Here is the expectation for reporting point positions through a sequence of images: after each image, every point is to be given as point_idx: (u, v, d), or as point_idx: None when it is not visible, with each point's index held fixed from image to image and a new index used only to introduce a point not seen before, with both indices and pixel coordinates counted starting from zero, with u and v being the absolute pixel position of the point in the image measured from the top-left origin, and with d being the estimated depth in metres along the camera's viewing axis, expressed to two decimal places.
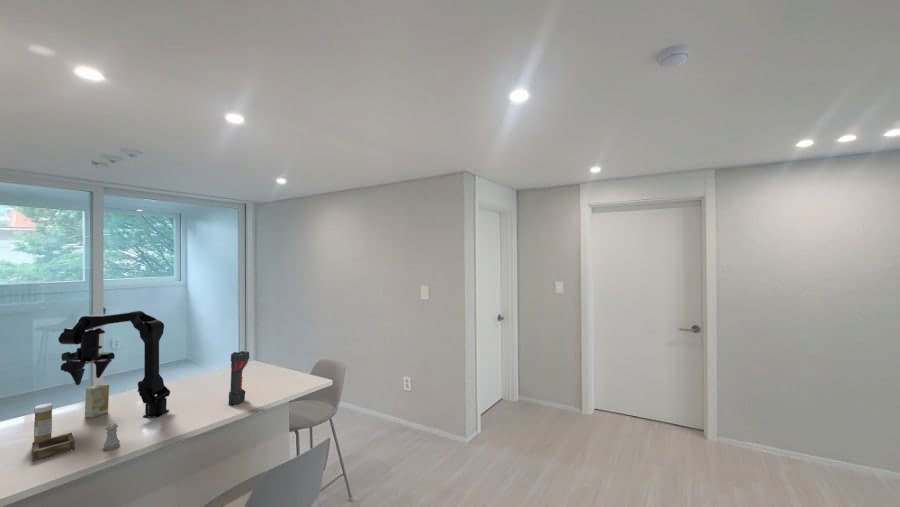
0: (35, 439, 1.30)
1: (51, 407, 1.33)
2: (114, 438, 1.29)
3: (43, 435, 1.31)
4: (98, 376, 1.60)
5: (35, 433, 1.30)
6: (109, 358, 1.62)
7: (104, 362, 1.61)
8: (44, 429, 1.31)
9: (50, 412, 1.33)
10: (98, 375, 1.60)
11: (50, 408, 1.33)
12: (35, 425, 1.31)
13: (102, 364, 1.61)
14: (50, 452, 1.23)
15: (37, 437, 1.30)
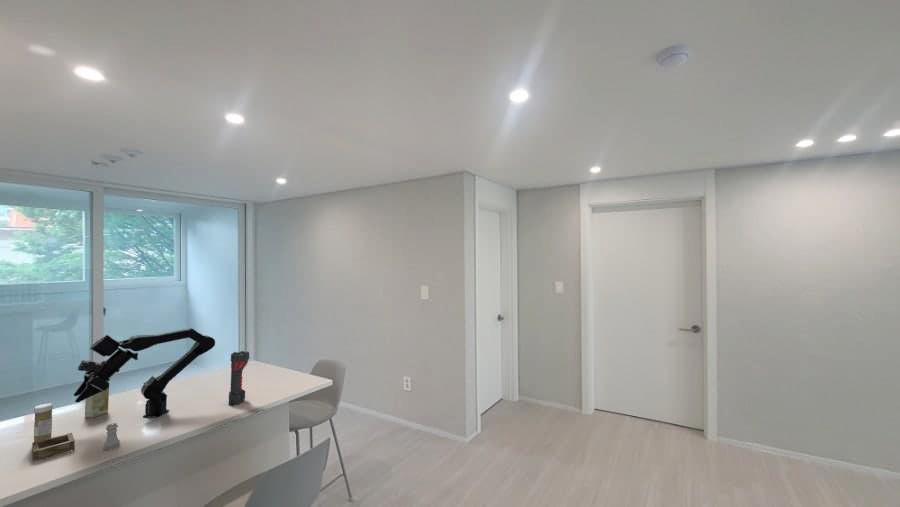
0: (35, 439, 1.30)
1: (51, 407, 1.33)
2: (114, 438, 1.29)
3: (43, 435, 1.31)
4: (76, 394, 1.42)
5: (35, 433, 1.30)
6: None
7: None
8: (44, 429, 1.31)
9: (50, 412, 1.33)
10: (78, 393, 1.42)
11: (50, 408, 1.33)
12: (35, 425, 1.31)
13: None
14: (50, 452, 1.23)
15: (37, 437, 1.30)
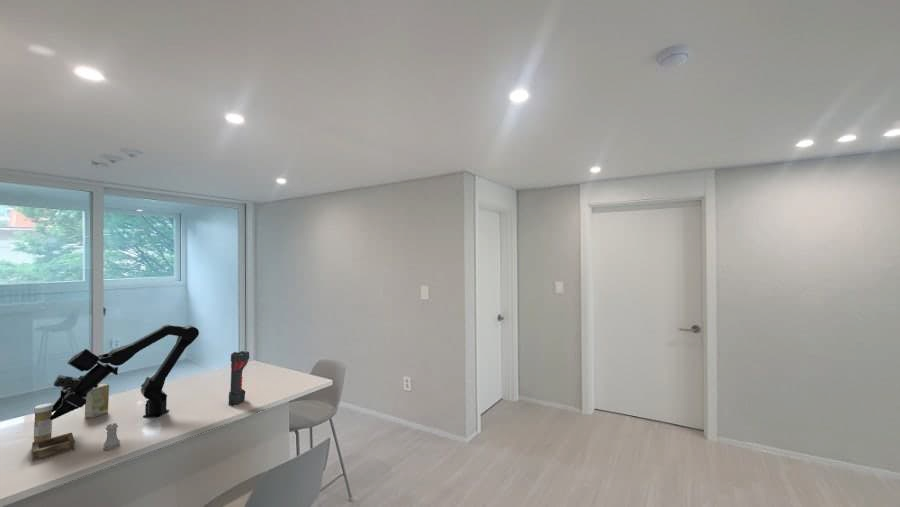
0: (35, 439, 1.30)
1: (51, 407, 1.33)
2: (114, 438, 1.29)
3: (43, 435, 1.31)
4: (52, 411, 1.37)
5: (35, 433, 1.30)
6: None
7: None
8: (44, 429, 1.31)
9: (50, 412, 1.33)
10: (53, 410, 1.37)
11: (50, 408, 1.33)
12: (35, 425, 1.31)
13: None
14: (50, 452, 1.23)
15: (37, 437, 1.30)
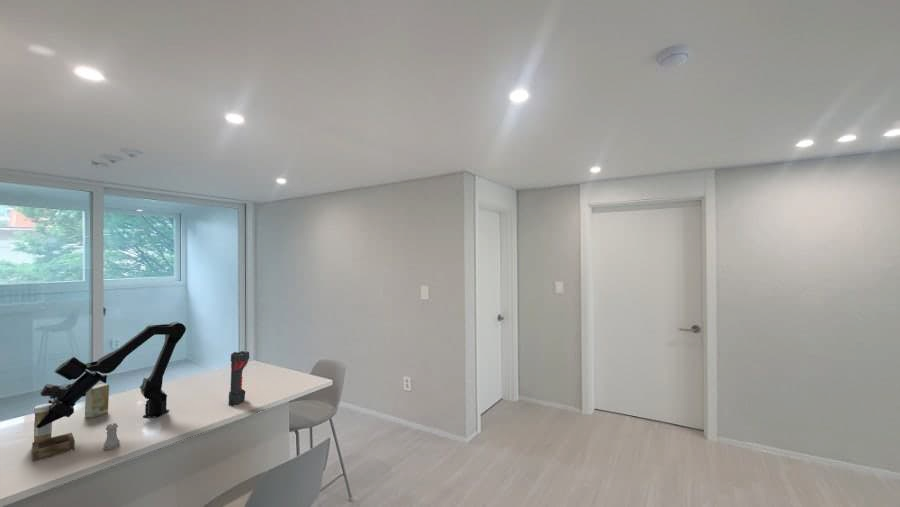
0: (35, 439, 1.30)
1: None
2: (114, 438, 1.29)
3: (43, 435, 1.31)
4: None
5: (35, 433, 1.30)
6: None
7: None
8: (44, 429, 1.31)
9: None
10: None
11: None
12: (35, 425, 1.30)
13: None
14: (50, 452, 1.23)
15: (37, 437, 1.30)
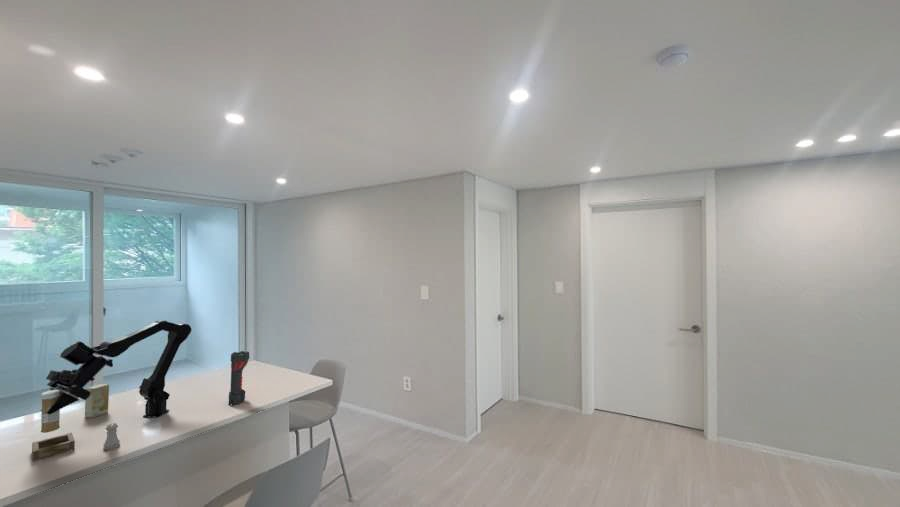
0: (44, 426, 1.26)
1: (59, 393, 1.29)
2: (114, 438, 1.29)
3: (53, 422, 1.27)
4: None
5: (44, 420, 1.26)
6: None
7: None
8: (54, 415, 1.27)
9: None
10: None
11: (59, 394, 1.29)
12: (44, 412, 1.26)
13: None
14: (50, 452, 1.23)
15: (47, 424, 1.26)
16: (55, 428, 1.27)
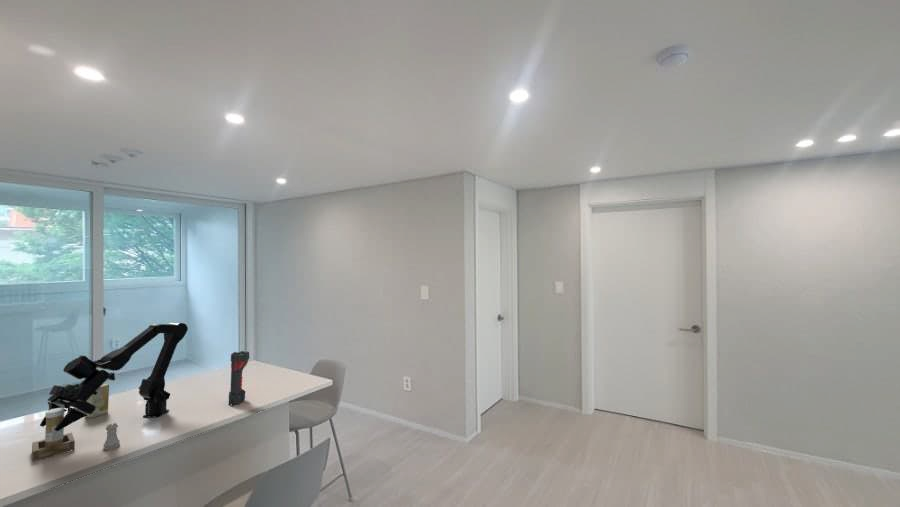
0: (48, 445, 1.25)
1: (64, 411, 1.28)
2: (114, 438, 1.29)
3: (57, 441, 1.26)
4: (44, 424, 1.28)
5: (48, 439, 1.25)
6: None
7: None
8: (58, 433, 1.26)
9: (63, 416, 1.28)
10: (45, 423, 1.28)
11: (63, 412, 1.28)
12: (48, 431, 1.25)
13: None
14: (50, 452, 1.23)
15: (51, 443, 1.25)
16: None
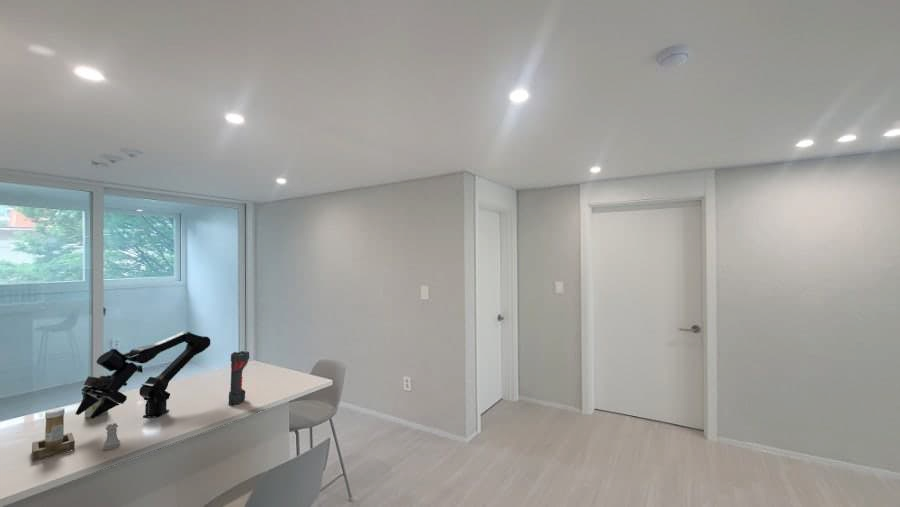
0: (48, 445, 1.25)
1: (64, 411, 1.28)
2: (114, 438, 1.29)
3: (57, 441, 1.26)
4: (79, 413, 1.36)
5: (48, 439, 1.25)
6: None
7: (96, 399, 1.42)
8: (58, 434, 1.26)
9: (63, 416, 1.28)
10: (80, 412, 1.37)
11: (63, 412, 1.28)
12: (48, 431, 1.25)
13: (92, 401, 1.41)
14: (50, 452, 1.23)
15: (51, 443, 1.25)
16: None
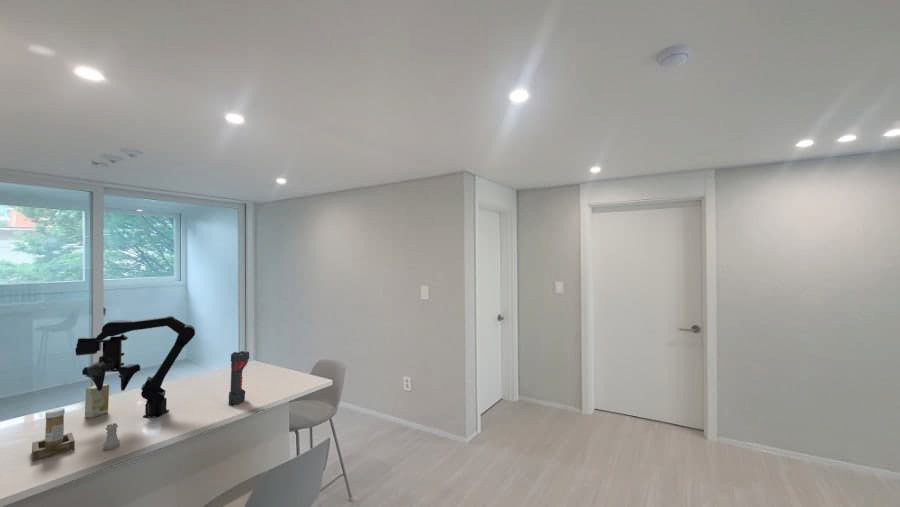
0: (48, 445, 1.25)
1: (64, 411, 1.28)
2: (114, 438, 1.29)
3: (57, 441, 1.26)
4: (101, 388, 1.49)
5: (48, 439, 1.25)
6: None
7: None
8: (58, 434, 1.26)
9: (63, 416, 1.28)
10: (101, 387, 1.49)
11: (63, 412, 1.28)
12: (48, 431, 1.25)
13: (102, 375, 1.50)
14: (50, 452, 1.23)
15: (51, 443, 1.25)
16: None
